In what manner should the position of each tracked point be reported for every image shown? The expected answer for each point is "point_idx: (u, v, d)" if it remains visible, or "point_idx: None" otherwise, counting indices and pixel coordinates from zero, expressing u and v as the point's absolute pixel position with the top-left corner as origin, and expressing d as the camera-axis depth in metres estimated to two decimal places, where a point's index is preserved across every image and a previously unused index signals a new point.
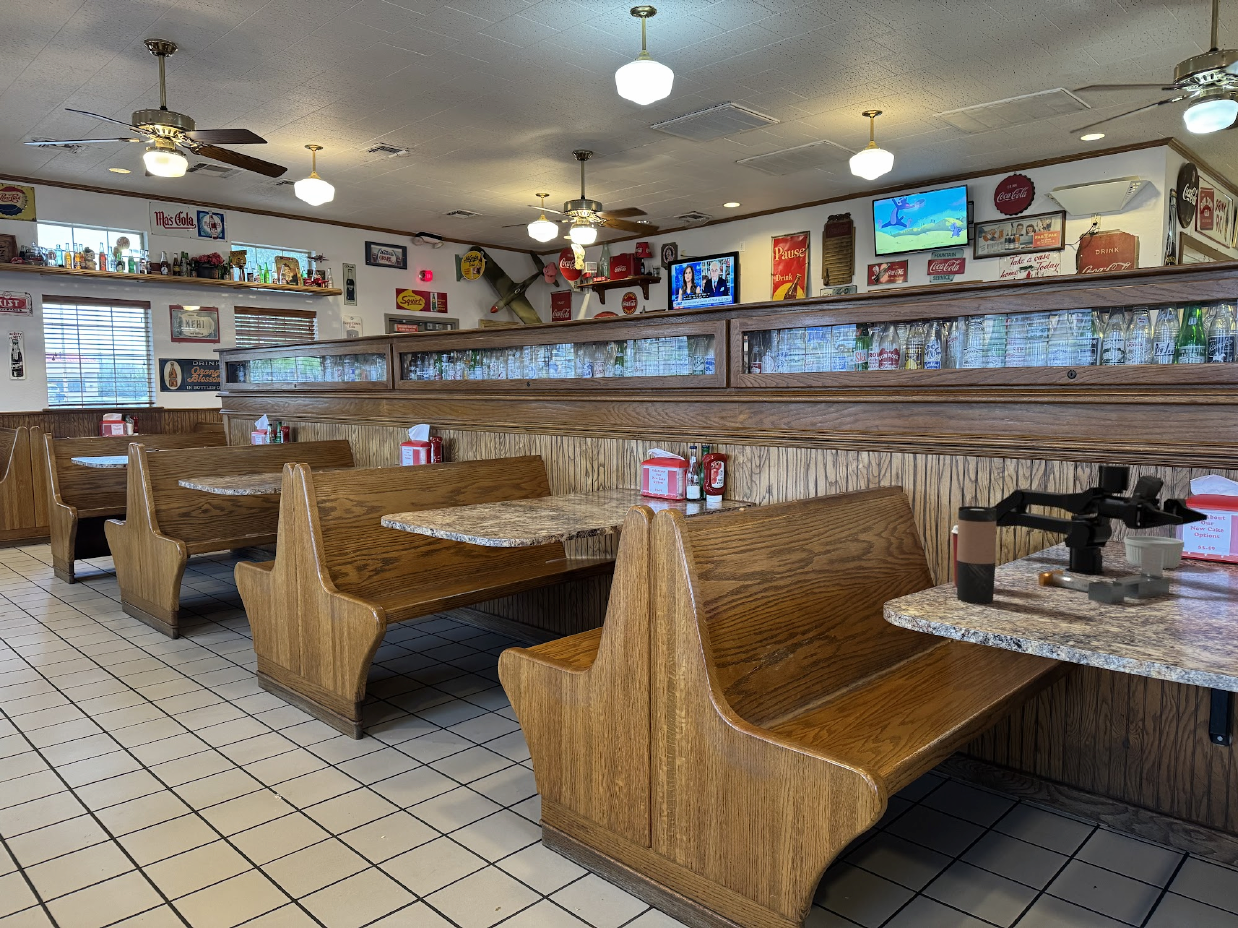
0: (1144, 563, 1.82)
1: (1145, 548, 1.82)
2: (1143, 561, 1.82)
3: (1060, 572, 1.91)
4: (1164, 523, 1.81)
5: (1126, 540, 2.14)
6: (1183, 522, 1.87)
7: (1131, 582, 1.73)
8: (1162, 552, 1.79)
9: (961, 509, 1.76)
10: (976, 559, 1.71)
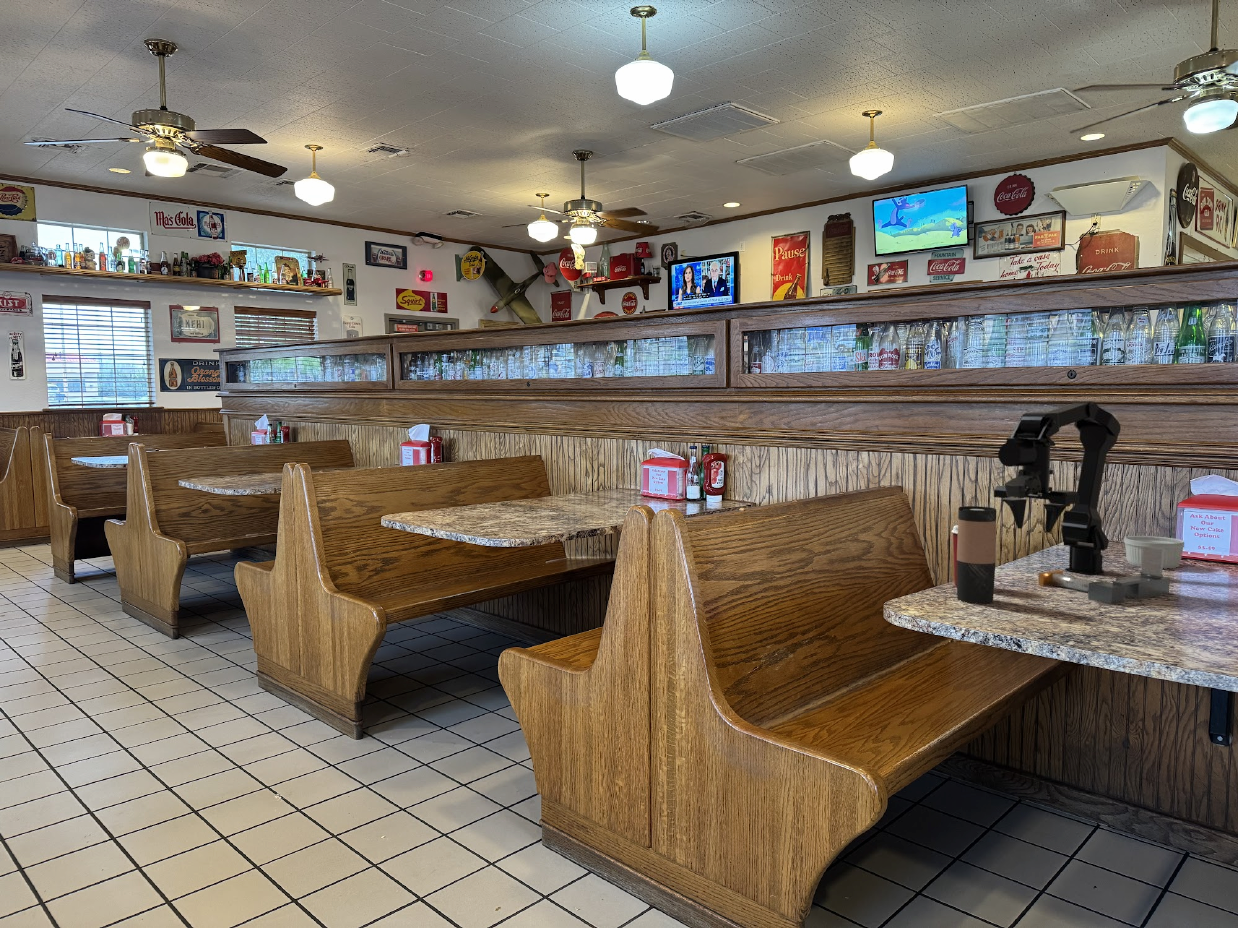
0: (1144, 563, 1.82)
1: (1145, 548, 1.82)
2: (1143, 561, 1.82)
3: (1060, 572, 1.91)
4: None
5: (1126, 540, 2.14)
6: None
7: (1131, 582, 1.73)
8: (1162, 552, 1.79)
9: (961, 509, 1.76)
10: (976, 559, 1.71)
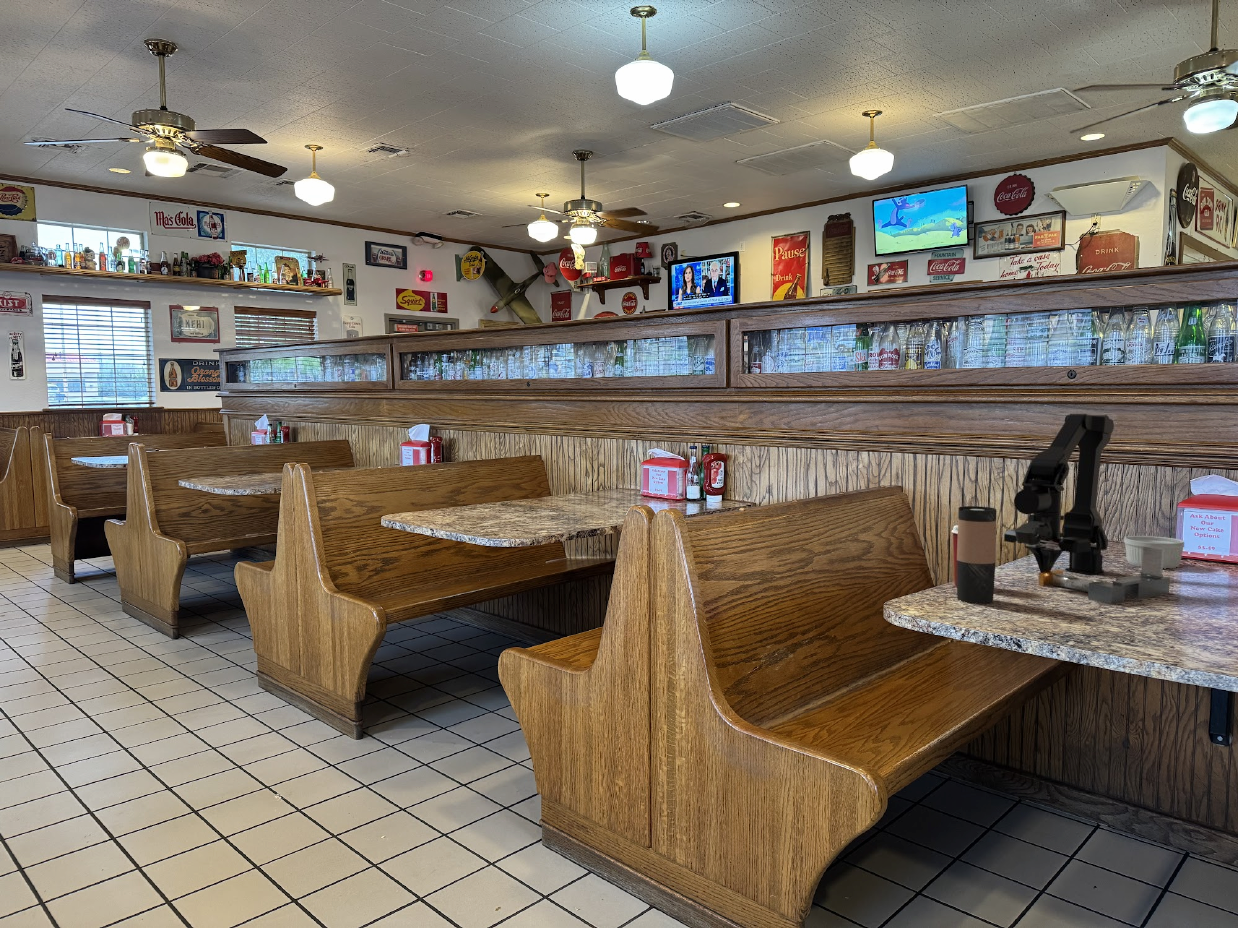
0: (1144, 563, 1.82)
1: (1145, 548, 1.82)
2: (1143, 561, 1.82)
3: (1060, 572, 1.91)
4: None
5: (1126, 540, 2.14)
6: None
7: (1131, 582, 1.73)
8: (1162, 552, 1.79)
9: (961, 509, 1.76)
10: (976, 559, 1.71)
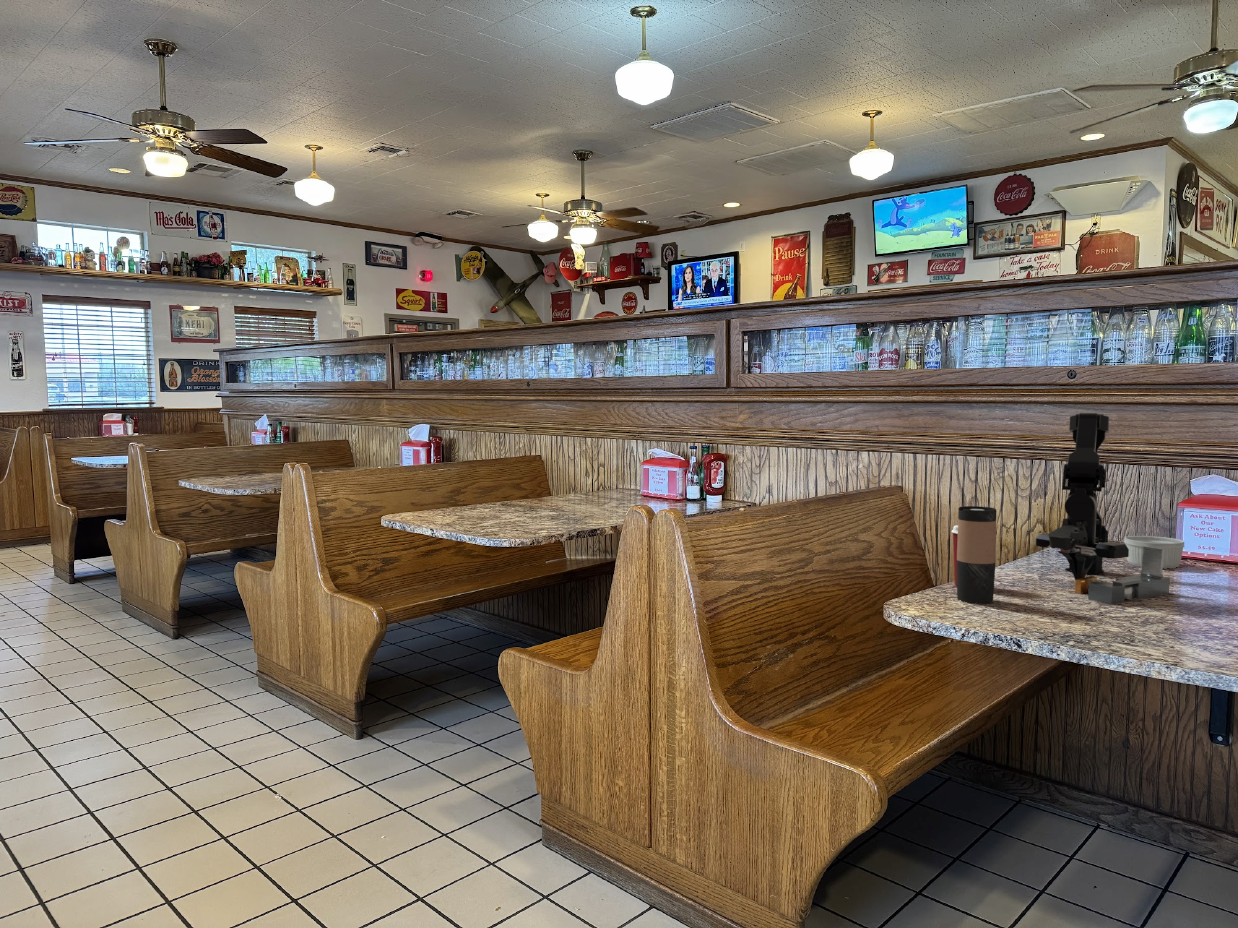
0: (1144, 563, 1.82)
1: (1145, 548, 1.82)
2: (1143, 561, 1.82)
3: (1095, 578, 1.83)
4: None
5: (1126, 540, 2.14)
6: None
7: (1131, 582, 1.73)
8: (1162, 552, 1.79)
9: (961, 509, 1.76)
10: (976, 559, 1.71)
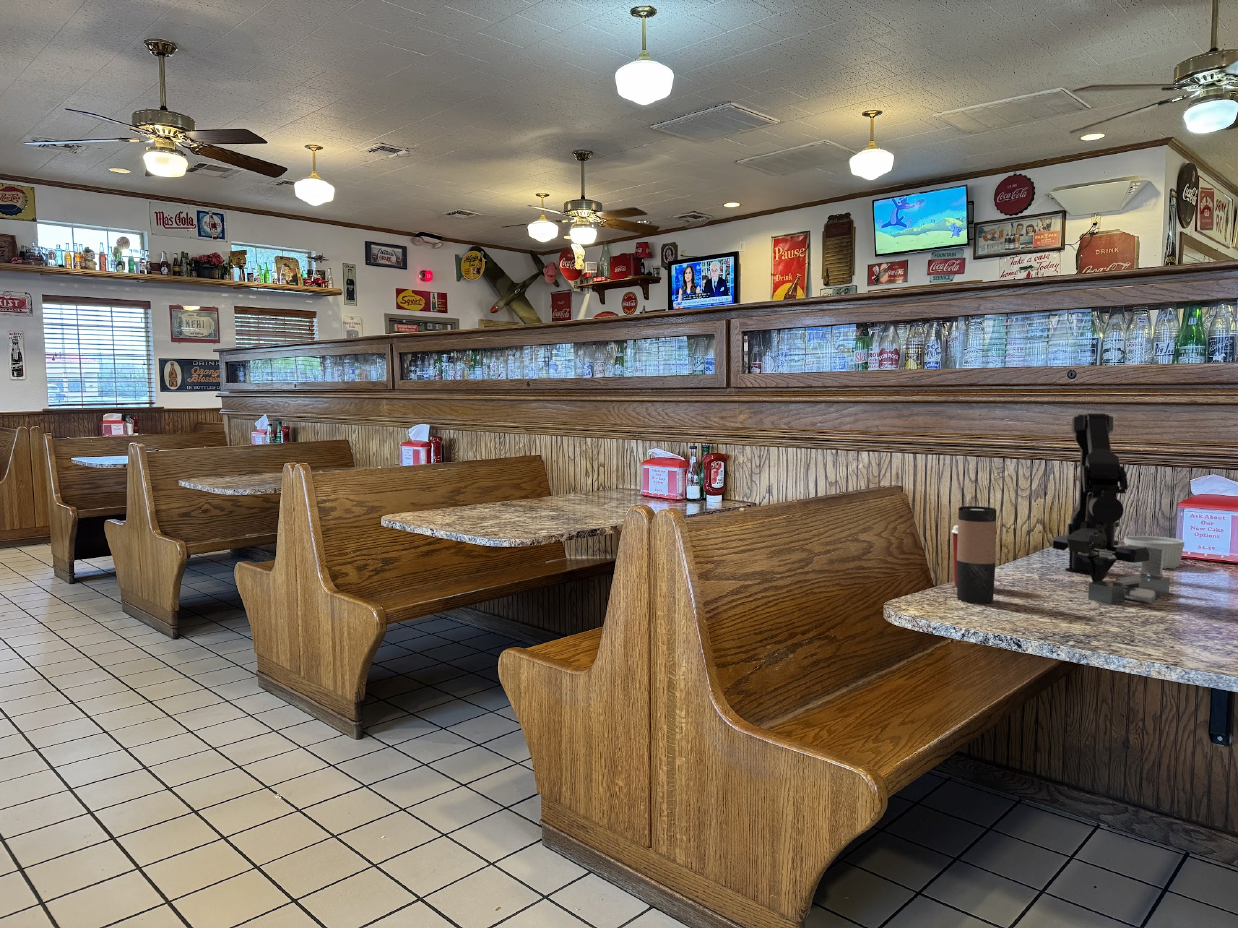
0: (1144, 563, 1.82)
1: None
2: (1143, 561, 1.82)
3: None
4: None
5: (1126, 540, 2.14)
6: None
7: (1131, 582, 1.73)
8: (1162, 552, 1.79)
9: (961, 509, 1.76)
10: (976, 559, 1.71)
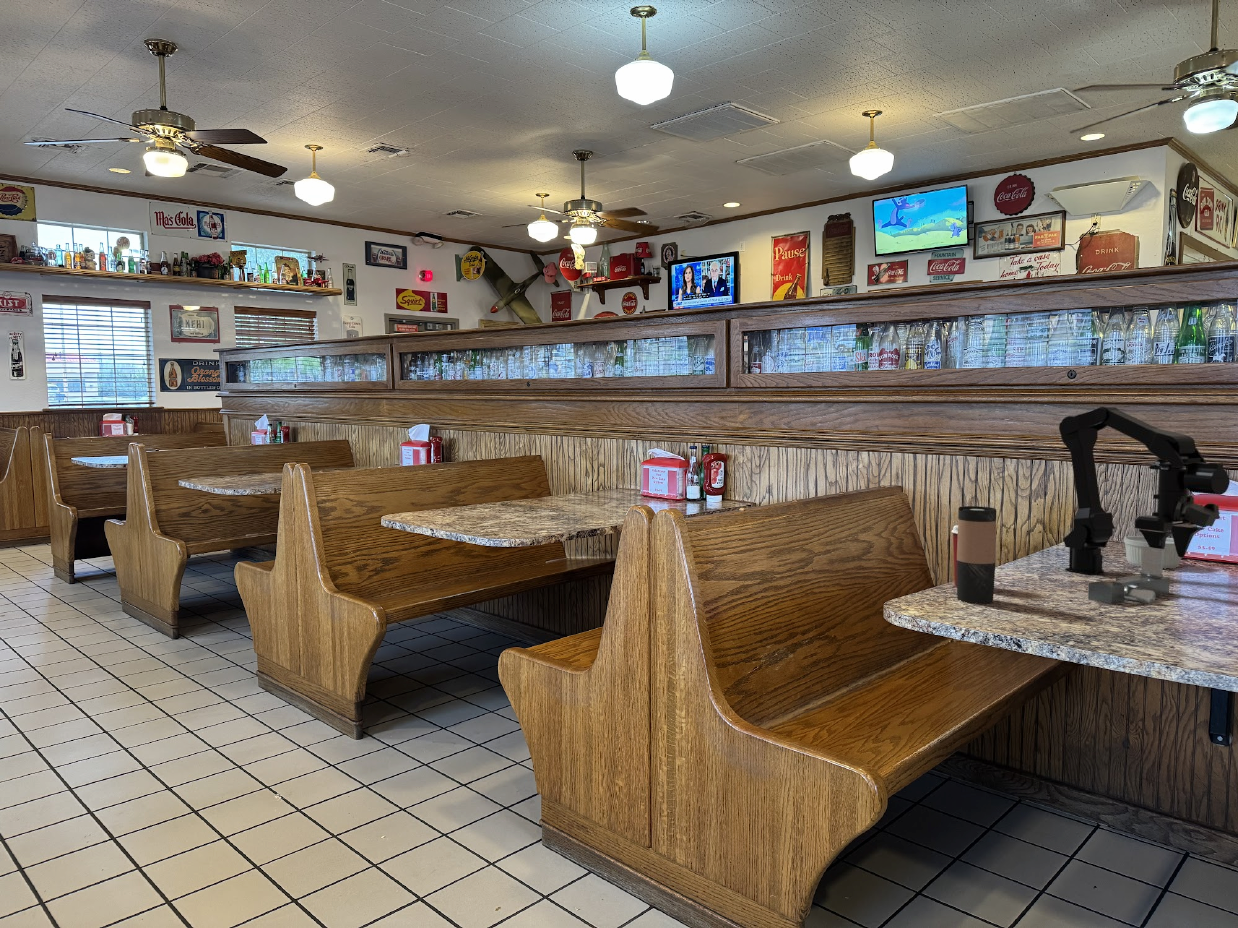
0: (1144, 563, 1.82)
1: (1145, 548, 1.82)
2: (1143, 561, 1.82)
3: None
4: (1151, 546, 1.82)
5: (1126, 540, 2.14)
6: (1173, 534, 1.87)
7: (1131, 582, 1.73)
8: (1162, 552, 1.79)
9: (961, 509, 1.76)
10: (976, 559, 1.71)
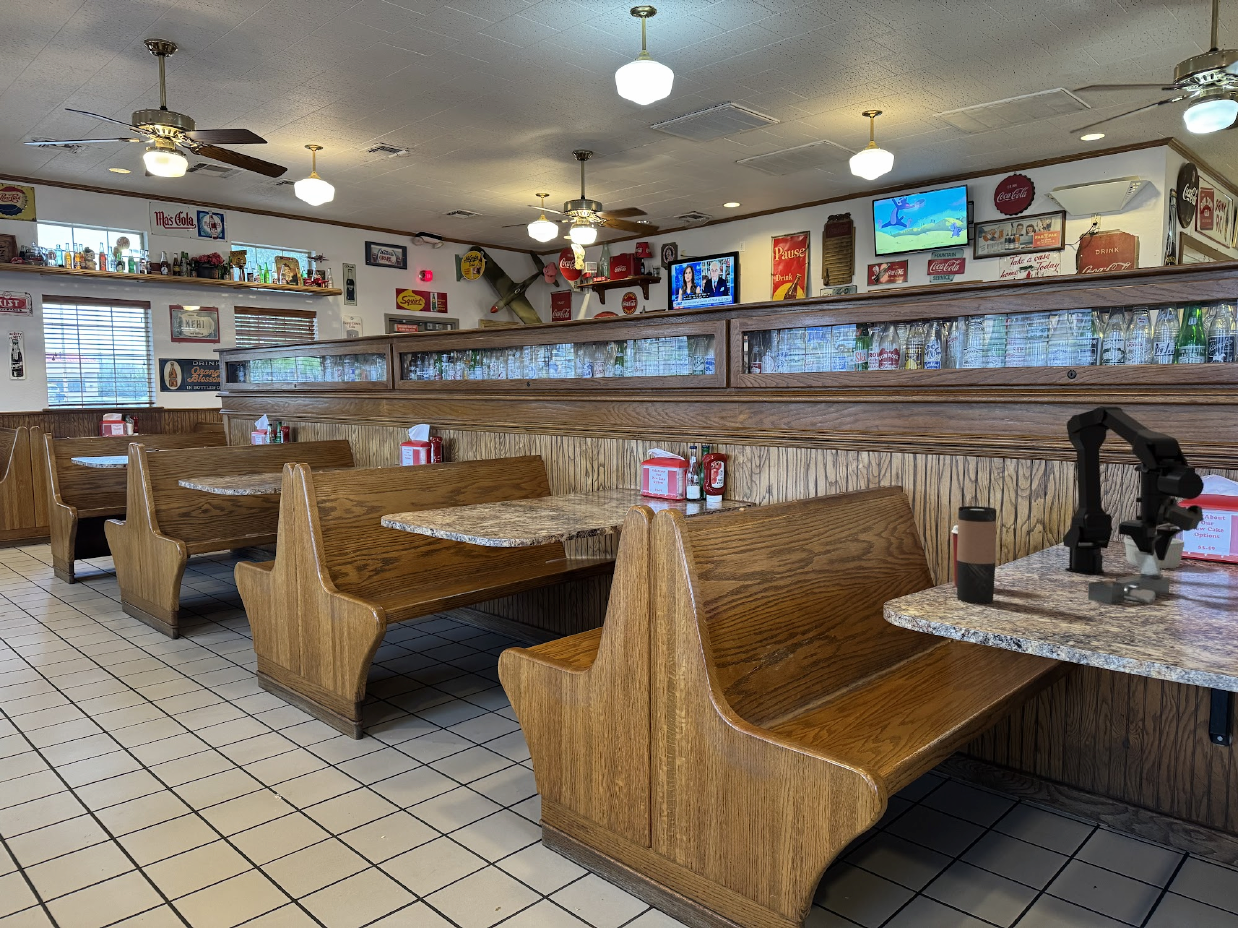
0: (1140, 566, 1.81)
1: (1136, 554, 1.80)
2: (1139, 564, 1.82)
3: None
4: (1140, 550, 1.80)
5: (1126, 540, 2.14)
6: None
7: (1131, 582, 1.73)
8: (1153, 557, 1.78)
9: (961, 509, 1.76)
10: (976, 559, 1.71)
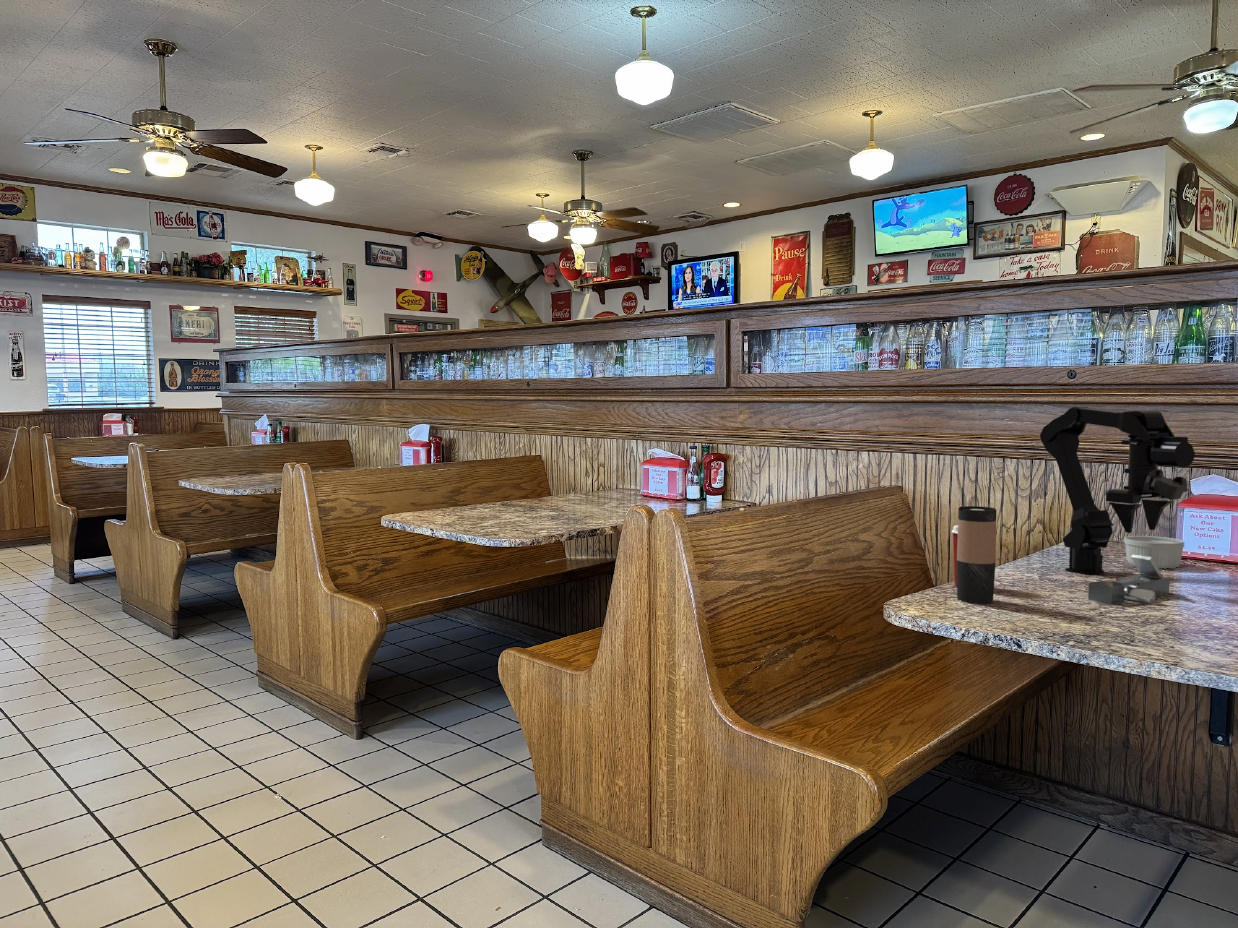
0: (1139, 568, 1.81)
1: (1133, 558, 1.80)
2: (1138, 566, 1.81)
3: None
4: (1121, 519, 1.87)
5: (1126, 540, 2.14)
6: (1145, 507, 1.93)
7: (1131, 582, 1.73)
8: (1151, 561, 1.77)
9: (961, 509, 1.76)
10: (976, 559, 1.71)
